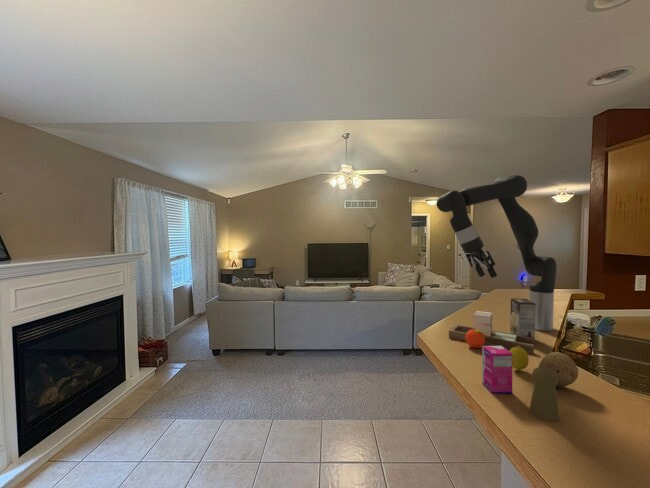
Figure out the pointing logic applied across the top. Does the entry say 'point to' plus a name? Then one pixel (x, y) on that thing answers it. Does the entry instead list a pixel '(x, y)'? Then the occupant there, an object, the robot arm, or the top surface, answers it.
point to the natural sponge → (561, 368)
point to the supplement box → (497, 369)
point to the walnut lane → (496, 338)
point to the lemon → (519, 358)
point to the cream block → (483, 322)
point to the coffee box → (522, 317)
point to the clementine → (475, 338)
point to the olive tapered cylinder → (545, 395)
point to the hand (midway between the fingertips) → (488, 276)
